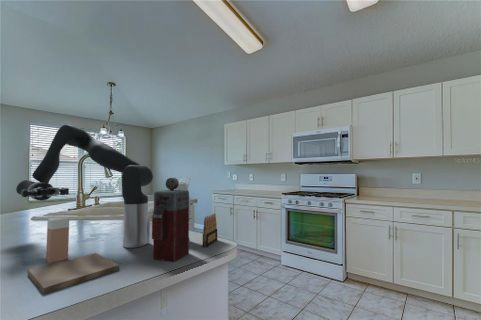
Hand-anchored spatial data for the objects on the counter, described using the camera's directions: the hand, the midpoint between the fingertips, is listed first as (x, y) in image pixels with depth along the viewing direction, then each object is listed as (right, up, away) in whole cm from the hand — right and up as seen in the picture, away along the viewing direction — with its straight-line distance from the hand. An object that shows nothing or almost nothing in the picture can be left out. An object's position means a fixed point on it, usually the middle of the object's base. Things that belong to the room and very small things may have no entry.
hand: (50, 193), depth 89 cm
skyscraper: (+47, -23, +11) cm, 54 cm away
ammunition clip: (+60, -23, +8) cm, 65 cm away
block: (+9, -22, -8) cm, 25 cm away
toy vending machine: (+48, -22, -7) cm, 53 cm away
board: (+23, -21, -19) cm, 37 cm away
